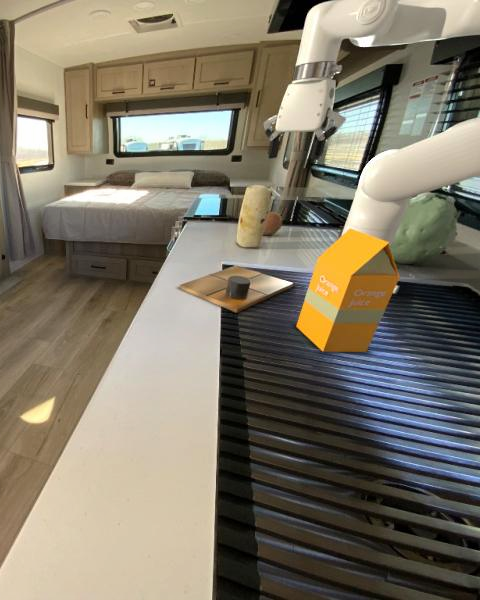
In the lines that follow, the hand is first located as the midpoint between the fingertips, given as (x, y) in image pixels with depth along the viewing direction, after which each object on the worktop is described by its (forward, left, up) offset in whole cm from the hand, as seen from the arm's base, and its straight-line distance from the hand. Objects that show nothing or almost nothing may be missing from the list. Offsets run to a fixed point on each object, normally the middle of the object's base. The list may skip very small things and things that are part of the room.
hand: (292, 158), depth 81 cm
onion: (+21, -37, -30) cm, 52 cm away
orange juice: (-26, +24, -30) cm, 46 cm away
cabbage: (-20, -39, -30) cm, 53 cm away
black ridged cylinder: (-6, +23, -28) cm, 37 cm away
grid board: (-2, +17, -30) cm, 34 cm away
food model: (+17, -18, -30) cm, 39 cm away
